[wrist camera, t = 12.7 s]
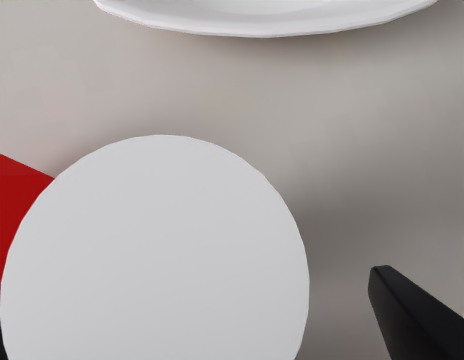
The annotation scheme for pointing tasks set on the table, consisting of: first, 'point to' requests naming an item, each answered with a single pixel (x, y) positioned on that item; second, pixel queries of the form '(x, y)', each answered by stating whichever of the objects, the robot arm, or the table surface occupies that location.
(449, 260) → the table surface
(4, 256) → the ball
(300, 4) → the bowl
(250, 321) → the tube
